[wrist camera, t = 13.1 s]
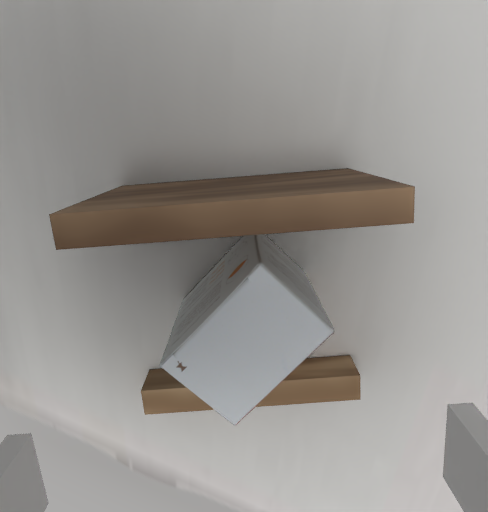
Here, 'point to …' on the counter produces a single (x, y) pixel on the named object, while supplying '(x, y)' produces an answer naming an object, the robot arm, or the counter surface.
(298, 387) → the board
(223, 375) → the small box
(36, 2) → the counter surface
